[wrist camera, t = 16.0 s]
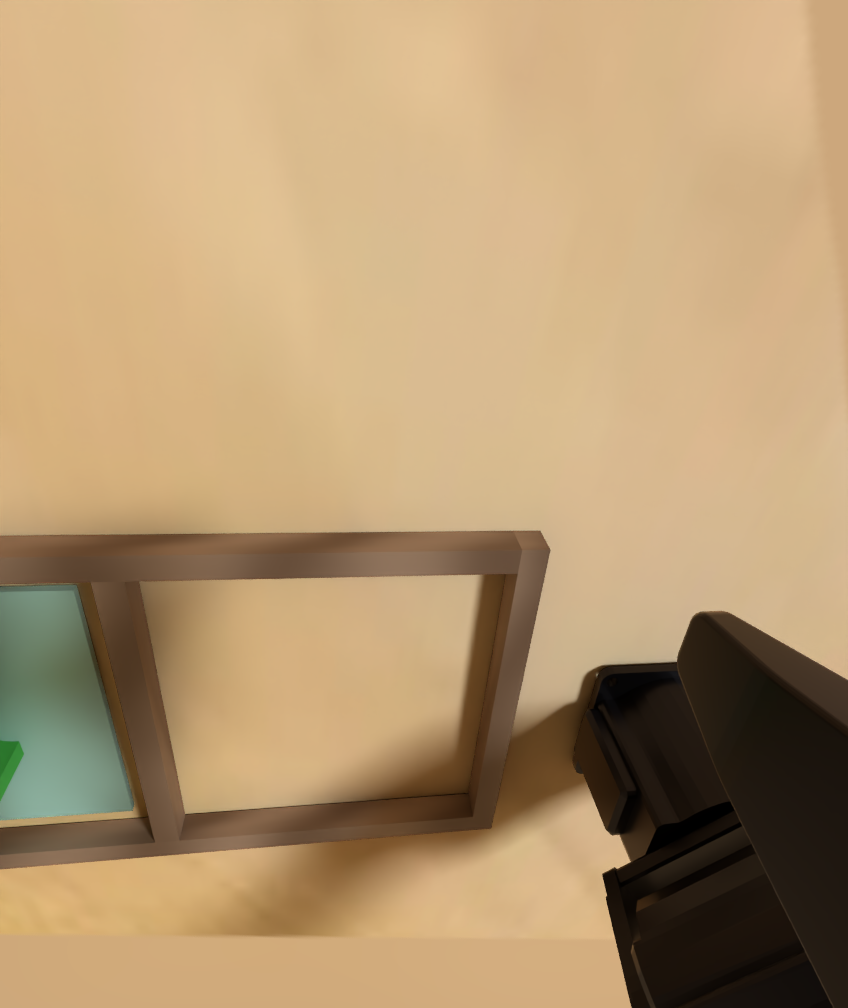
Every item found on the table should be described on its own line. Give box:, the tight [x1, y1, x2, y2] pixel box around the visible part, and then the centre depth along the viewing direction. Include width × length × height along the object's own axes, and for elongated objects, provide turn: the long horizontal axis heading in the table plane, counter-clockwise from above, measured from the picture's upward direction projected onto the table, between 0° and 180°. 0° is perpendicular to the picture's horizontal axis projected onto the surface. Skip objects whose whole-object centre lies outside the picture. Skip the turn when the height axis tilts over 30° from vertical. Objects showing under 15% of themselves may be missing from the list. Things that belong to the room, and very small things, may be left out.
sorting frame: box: [0, 531, 550, 869], centre depth 23 cm, size 29×16×1 cm, turn 86°
